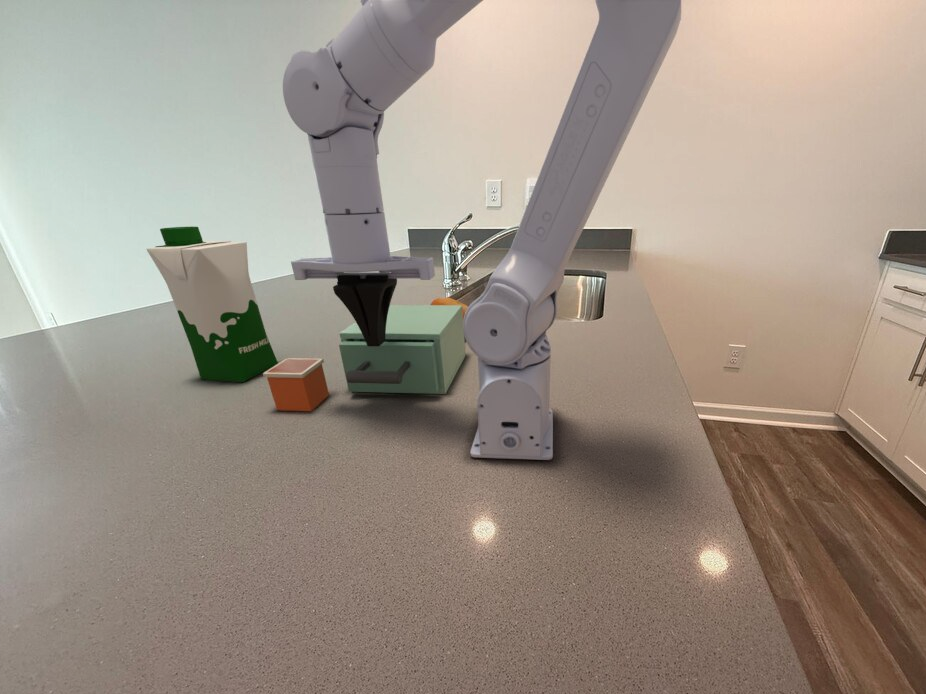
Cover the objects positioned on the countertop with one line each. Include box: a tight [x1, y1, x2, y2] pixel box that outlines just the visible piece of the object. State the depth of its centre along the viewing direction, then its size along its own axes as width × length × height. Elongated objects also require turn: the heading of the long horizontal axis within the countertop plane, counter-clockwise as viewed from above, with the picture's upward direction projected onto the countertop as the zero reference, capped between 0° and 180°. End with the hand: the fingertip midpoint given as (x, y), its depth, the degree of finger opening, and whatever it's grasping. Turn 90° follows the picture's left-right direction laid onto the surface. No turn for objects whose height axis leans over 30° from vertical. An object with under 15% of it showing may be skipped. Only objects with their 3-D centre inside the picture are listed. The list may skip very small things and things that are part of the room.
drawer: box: [338, 339, 439, 395], centre depth 53 cm, size 17×11×6 cm, turn 175°
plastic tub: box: [262, 357, 330, 412], centre depth 50 cm, size 5×5×5 cm
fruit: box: [430, 296, 469, 319], centre depth 72 cm, size 8×8×8 cm
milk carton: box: [146, 226, 279, 383], centre depth 56 cm, size 9×9×20 cm
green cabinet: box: [339, 304, 467, 395], centre depth 57 cm, size 14×13×8 cm
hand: (376, 343), depth 46 cm, fingers closed
